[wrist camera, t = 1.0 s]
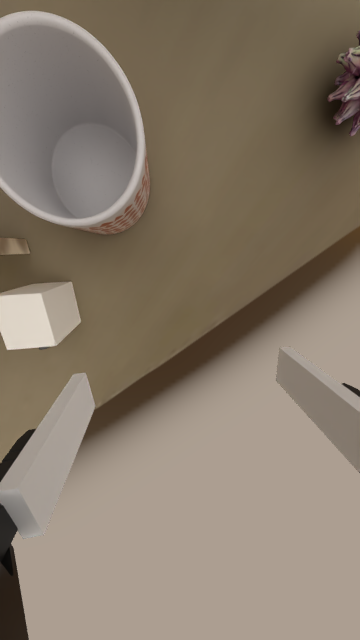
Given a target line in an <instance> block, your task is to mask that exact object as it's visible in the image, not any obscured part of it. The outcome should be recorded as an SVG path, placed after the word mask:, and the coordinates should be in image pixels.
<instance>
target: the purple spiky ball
mask: <svg viewBox="0 0 360 640" xmlns="http://www.w3.org/2000/svg"><path fill="white" fill-rule="evenodd" d="M356 36H357V38H358V39H359V46H358V47H355V48H349V50H348V51H347V52H346V53H340V54H339V57H338V59H337V61H336V62H337V63H340V64H342V65H343V66H344V68H345V70H346V72H345V73H344V74H342V75H340V76H338V77H337V79H336V80H335V84H334V85H336V86H337V85H340V87H339V88H338V89H337V90H336V91H335V92H333V93H332V94H330V95H329V96H328V99H327V100H328V101H329V102H331V101H333V100H341V101H342V102H343V103H342V105H341V107H340V109H339V111H338V112H337V113H336V114H335V115H334V117H333V119H335V120H337V121H336V125H339V124H340V123H341V122H342V121H344V120H345V119H347V118H349V117H351V116H353V115H354V114H355V116H354V119H353V126H352V129H351V131H350V133H349V134H350V136H352V135H355V133H356V132H357V130H358V129H359V128H360V31H359V32H358V34H357V35H356Z"/></svg>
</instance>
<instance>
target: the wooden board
mask: <svg viewBox="0 0 360 640" xmlns="http://www.w3.org/2000/svg"><path fill="white" fill-rule="evenodd" d="M11 254H30V251H29V247H28V244H27V240H26V239H14V238H0V255H11Z"/></svg>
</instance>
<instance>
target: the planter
mask: <svg viewBox="0 0 360 640" xmlns="http://www.w3.org/2000/svg"><path fill="white" fill-rule="evenodd" d="M0 188H1V189H2V190H3V191H4V192H5V193H6V194H7V195H8V196H9V197H10V198H11V199H12V200H14V201H15V202H16V203H17V204H18V205H20V206H21V207H22V208H24V209H25V210H27V211H28V212H30V213H32V214H34V215H35V216H37V217H39V218H41V219H44V220H46V221H49V222H52V223H55V224H58V225H63V226H67V227H71V228H75V229H80V230H84V231H88V232H92V233H97V234H116V233H119V232H122V231H125V230H126V229H128V228H130V227H131V226H132V225H134V224H135V223H136V222H137V221H138V220H139V218H140V217H141V215H142V214H143V212H144V210H145V208H146V205H147V202H148V199H149V193H150V177H149V168H148V160H147V152H146V143H145V135H144V128H143V122H142V117H141V113H140V109H139V106H138V102H137V100H136V97H135V94H134V92H133V89H132V87H131V85H130V83H129V81H128V79H127V77H126V75H125V74H124V72H123V70H122V69H121V67H120V66H119V64H118V63H117V61H116V60H115V59H114V57H113V56H112V55H111V54H110V53H109V51H108V50H107V49H106V48H105V47H104V46H103V45H102V44H101V43H100V42H99V41H98V40H97V39H96V38H95V37H94V36H92V35H91V34H90V33H89V32H87V31H86V30H85V29H83V28H82V27H80V26H79V25H77V24H75V23H74V22H72V21H70V20H68V19H66V18H63V17H61V16H58V15H55V14H51V13H47V12H41V11H22V12H16V13H12V14H9V15H7V16H4V17H2V18H0Z"/></svg>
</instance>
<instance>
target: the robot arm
mask: <svg viewBox="0 0 360 640" xmlns="http://www.w3.org/2000/svg"><path fill="white" fill-rule="evenodd" d="M276 381H277V382H278V383H279V384H280V385H281V387H282V388H283V389H284V390H285V391H286V392H287V393H288V394H289V395H290V397H291V398H292V399H293V400H294V401H295V402H296V403H297V404H298V405H299V407H300V408H301V409H302V410H303V411H304V412H305V413H306V414H307V415H308V417H309V418H310V419H311V420H312V421H313V422H314V423H315V424H316V425H317V427H318V428H319V429H320V430H321V431H322V432H323V433H324V434H325V435H326V436H327V438H328V439H329V440H330V441H331V442H332V443H333V444H334V445H335V446H336V448H337V449H338V450H339V451H340V452H341V453H342V454H343V455H344V456H345V458H346V459H347V460H348V461H349V462H350V463H351V464H352V465H353V466H354V468H355V469H356V470H357V471H358V472H359V473H360V391H359V390H358V389H356V388H354V387H352V386H350V385H347V384H345V383H343V384H341V383H339V382H338V381H337V380H335V379H334V378H332V377H331V376H330V375H328V374H327V373H326V372H324V371H323V370H322V369H320V368H319V367H317V366H316V365H315V364H313V363H312V362H311V361H309V360H308V359H306V358H305V357H304V356H302V355H301V354H300V353H298V352H297V351H296V350H294V349H293V348H291V347H290V346H288V347H281V348H279V355H278V365H277V375H276ZM94 408H95V403H94V400H93V396H92V393H91V389H90V386H89V382H88V379H87V376H86V373H79V374H73V376H72V377H71V379H70V380H69V382H68V383H67V385H66V386H65V388H64V389H63V390H62V392H61V393H60V395H59V396H58V398H57V399H56V401H55V402H54V404H53V405H52V407H51V408H50V410H49V411H48V413H47V414H46V416H45V417H44V419H43V420H42V421H41V423H40V424H39V426H38V427H37V429H32V430H28V431H27V432H26V433H25V434H24V435H23V436H21V437H20V438H19V439H18V440H17V441H16V443H15V444H14V445H13V447H12V448H11V449H10V451H9V453H7V455H6V456H5V458H4V459H3V460H2V463H0V640H29V638H28V633H27V626H26V621H25V614H24V608H23V602H22V597H21V591H20V584H19V578H18V572H17V566H16V561H15V554H14V549H13V546H12V545H11V542H12V540H13V538H14V536H15V534H16V532H17V530H18V532H19V533H20V535H21V536H22V538H23V539H25V538H30V537H36V536H41V535H44V534H45V531H46V529H47V526H48V524H49V521H50V519H51V516H52V514H53V511H54V509H55V506H56V504H57V501H58V499H59V496H60V494H61V491H62V489H63V486H64V484H65V481H66V479H67V476H68V473H69V471H70V469H71V466H72V464H73V461H74V459H75V456H76V454H77V451H78V449H79V446H80V444H81V441H82V438H83V436H84V434H85V431H86V428H87V426H88V423H89V421H90V418H91V416H92V413H93V411H94Z"/></svg>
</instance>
